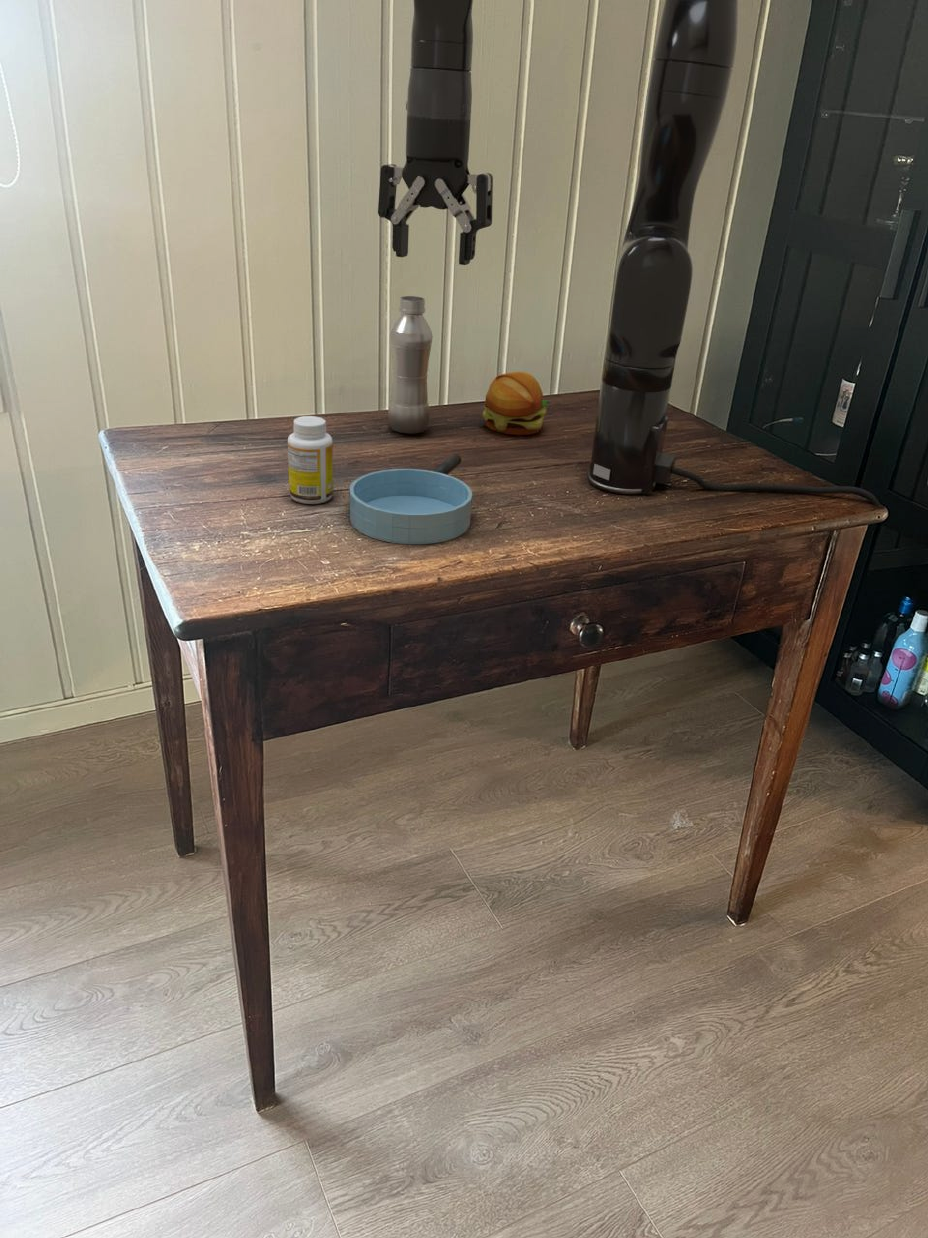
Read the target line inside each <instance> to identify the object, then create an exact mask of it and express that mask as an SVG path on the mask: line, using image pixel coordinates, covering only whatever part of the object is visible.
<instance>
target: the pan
mask: <svg viewBox="0 0 928 1238" xmlns="http://www.w3.org/2000/svg"><path fill="white" fill-rule="evenodd" d="M348 491H349V494H348V503H349V505H348V509H349V510H348V514H349V522H350V524H351V526H352V527H353V528H354V529H355V530H357V532H359V533H360V534H363V535H364V536H366V537H369V538H373V539H375V540H379V541H382V542H387V543H393V544H400V545H429V544H430V545H432V544H437V543H443V542H447V541H451V540H453V539H456V538H458V537H460V536H462V535H463V534H464V533H466V532H467V530H468V529H469V528H470V526H471V521H472V508H473V507H472V506H473V492H472V489H471V487H470V486H469V485H468V484H467V483H465V482H464V481H463V480H461V479H459V478H457V477H455V476H453V475H449V474H447V475H446V474H443V473H439V472H434V471H433V470H429V469H420V468H419V469H418V468H391V469H381V470H377V471H372V472H368V473H367V474H364V475H361V476H359V477H357V478H356V479H355V480H352V483H351V484H350V486H349V489H348Z"/></svg>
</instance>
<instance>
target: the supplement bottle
mask: <svg viewBox="0 0 928 1238" xmlns="http://www.w3.org/2000/svg"><path fill="white" fill-rule="evenodd" d="M292 430H293V432H291V433H290V434H289V435H288V438H287V460H288V461H287V462H288V485H289V486H288V487H289V496H290V497H291V499H292V500H293V501H295V502H297V503H300V504H304V505H319V504H323V503H326V502H328V501H330V500H331V499H332V498H333V495H334V462H333V461H334V460H333V459H334V457H333V454H334V453H333V452H334V450H333V447H334V445H333V438H332V436H331V434H329V433H328V432H327V421H326V419H324V418H323V417H320V416H316V415H302V416H297V417H296V418H294V419H293V428H292Z"/></svg>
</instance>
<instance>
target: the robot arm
mask: <svg viewBox="0 0 928 1238" xmlns="http://www.w3.org/2000/svg"><path fill="white" fill-rule="evenodd" d="M473 2H474V0H413V14H412V15H413V16H412V24H411V32H410V33H411V35H410V64H409V65H410V68H409V77H408V84H407V93H406V94H407V95H406V102H405V109H406V127H405V130H406V131H405V164H404V167H403V166H398V165H396V164H394V163H388V164H387V163H386V164H383V165H382V166H381V167H380V172H379V188H378V201H377V202H378V204H377V215H378V216H379V217H380V218H383V219H386V220H388V221H389V222H390V223H391V225H392V235H391V236H392V240H391V241H392V243H391V248H392V251H393V252H395V256H396V258H405V257H407V256H408V254H409V232H410V231H409V230H410V228H409V227H410V224H408V223H407V221H408V220H409V219H410V217H411V216H412V214H413V213H414V212H415V211H416V210H417V209H418V208H419V207H420V208H424V209H425V208H431V207H432V208H435V209H437V210H449V212H450V213H451V215H452V216H453V218H455V219H456V221H457V223H458V224H459V226H460V229H461V230H462V232H460V236H459V252H458V253H459V255H458V264H459V265H461V266H466V265H469V264H470V263H471V261H472V260H474V258H475V255H476V244H477V243H476V242H477V233H478V231H480V230H482V229H486V228H489V227H491V226H492V224H493V203H494V202H493V197H494V196H493V195H494V176H493V175H492V173H490V172H485V173H480V174H471V172H470V171H469V167H468V163H469V156H470V154H469V153H470V138H471V136H470V135H471V122H472V121H471V120H472V119H471V118H472V101H473V90H472V89H473V87H472V65H473V43H474V31H473V30H474V28H473V27H474V26H473V16H472V15H473ZM663 5H664V6H663V9H662V14H661V18H660V23H659V28H658V32H657V36H656V40H655V45H654V50H653V56H652V61H651V67H650V72H649V79H648V84H647V89H646V94H645V95H646V96H645V104H644V111H643V118H642V119H643V120H642V130H641V141H640V154H639V169H638V170H639V171H638V179H637V185H636V190H635V194H634V199H633V203H632V206H631V211H630V215H629V218H628V223H627V226H626V228H625V233H624V236H623V239H622V242H621V243H622V244H621V246H620V248H619V251H618V255H617V259H616V264H615V265H616V266H615V274H616V275H615V276H616V277H615V283H614V292H613V300H612V307H611V314H610V322H609V326H608V327H609V328H608V332H607V333H608V334H607V338H606V344H605V352H604V361H603V369H602V375H601V383H600V390H599V398H598V403H597V404H598V405H597V412H596V419H595V427H594V436H593V443H592V450H591V458H590V462H589V463H590V464H589V470H588V474H587V480H588V482H589V483H590V484H591V485H592V486H593V487H595V488H598V489H600V490H602V491H606V492H610V493H614V494H619V495H620V494H621V495H646V496H650V495H651V493H652V491H653V490H654V489H655V488H656V485H657V484H662V485H667V483H668V482H669V480H670V478H671V477H672V474H673V475H675V476H679V477H682V478H686V479H689V480H692V481H694V482H695V483H696V484H697V485H698V486H699V487H701V489H705V490H708V491H714V492H739V491H740V492H743V491H745V492H746V491H766V492H789V493H790V492H791V493H804V494H817V495H818V494H819V495H825V494H827V495H828V494H855V495H857V496H861V497H863V498H865V499H867V501H869V502H870V503H871V504H872V505H876V506H879V505H881V503H880V502H879V500H878V498H877V497H876V496H875V495H874V494H873V493H871V492H870V491H868V490H866V489H864V488H861V487H857V486H848V485H847V486H846V485H844V486H843V485H841V486H808V485H795V484H772V483H771V484H770V483H741V484H740V483H739V484H715V483H711V482H707V481H705V480H704V478H702V477H700V475H698V474H696V473H693V472H691V471H688V470H685V469H682V468H678V467H675V465H676V457H677V454H672V453H665V452H663V450H664V445H665V439H666V435H667V427H668V422H669V417H668V416H667V414H668V413H667V412H668V407H669V402H670V401H669V400H670V394H671V388H672V383H673V377H674V371H675V366H676V365H675V364H676V360H677V354H678V351H679V347H680V345H681V342H682V336H683V332H684V326H685V321H686V316H687V311H688V305H689V299H690V294H691V287H692V283H693V273H694V271H693V270H694V269H693V268H694V267H693V261H692V257H691V255H690V252H689V241H690V240H689V239H690V230H691V222H692V215H693V208H694V202H695V197H696V192H697V188H698V185H699V181H700V178H701V176H702V173H703V170H704V168H705V165H706V162H707V160H708V158H709V155H710V152H711V149H712V147H713V144H714V140H715V138H716V135H717V133H718V129H719V126H720V124H721V119H722V116H723V113H724V108H725V106H726V101H727V97H728V91H729V87H730V82H731V78H732V74H733V73H732V72H733V69H734V63H735V57H736V49H737V41H738V40H737V39H738V26H739V25H738V24H739V22H738V21H739V0H665V1H664V4H663ZM401 180H403V181H404V184H405V185H406V187H407V189H408V190H407V192H406V193H405V194H404V196H403V197H402V199H401V200H400V202H399V204H398V206H397V208H396V199H397V189H398V188H397V187H398V185H400V183H401ZM469 185H470V187H471V190H472V192H473V194H475V197H476V198H475V200H476V202H475V206H476V207H475V216H474V214H473V212H472V210H471V206H470V204H469V202H468V201H467V199H466V197H465V195H464V192H465V191H466V190H467V188H468V187H469Z"/></svg>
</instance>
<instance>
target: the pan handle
mask: <svg viewBox="0 0 928 1238" xmlns="http://www.w3.org/2000/svg"><path fill="white" fill-rule="evenodd" d="M461 463H462V457H461V455H459V454H458V453H454V454H451V455H450V456H449V457H448V458H446V459H445V460H444V461H442V463H440V464H439V465H438V466H436V467H435V468H434V469H432V471H434V472H439V473H443V474H446V475H449V474H450V473H451V472H453V470H454V469H456V468H457V467H458V466H459V465H461Z"/></svg>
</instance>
